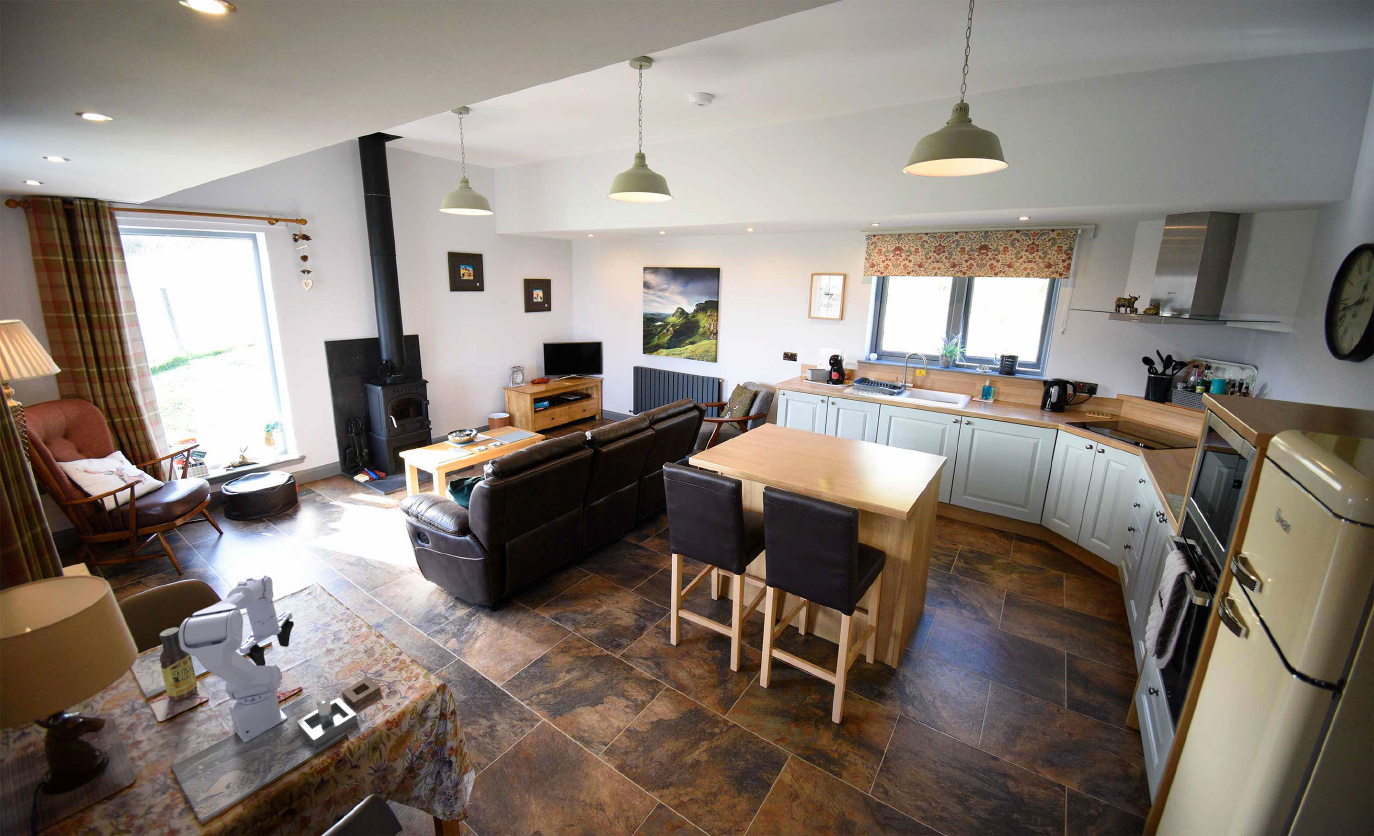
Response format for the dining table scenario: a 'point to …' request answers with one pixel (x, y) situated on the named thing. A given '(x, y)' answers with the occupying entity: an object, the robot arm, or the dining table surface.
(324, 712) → the pin
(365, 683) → the frame
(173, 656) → the sauce bottle
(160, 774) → the dining table surface
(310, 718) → the tray
